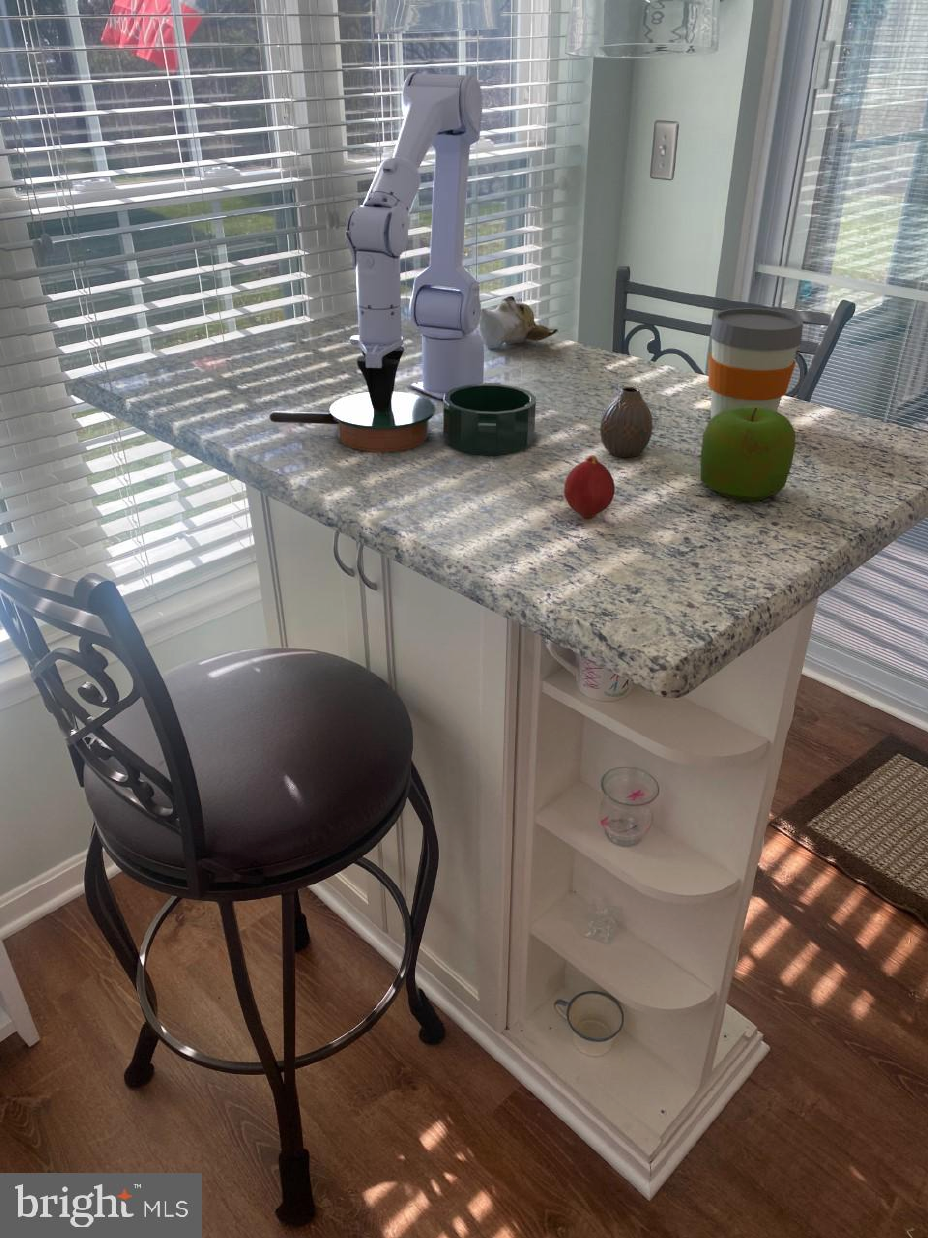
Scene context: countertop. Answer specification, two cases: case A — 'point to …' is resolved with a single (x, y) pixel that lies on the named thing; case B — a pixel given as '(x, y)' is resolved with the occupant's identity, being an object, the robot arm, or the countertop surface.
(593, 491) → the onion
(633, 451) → the vase
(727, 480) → the apple
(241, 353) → the countertop surface
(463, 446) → the pot
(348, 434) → the pan
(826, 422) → the countertop surface
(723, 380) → the reusable coffee cup
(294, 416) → the pan handle
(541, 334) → the ceramic sculpture
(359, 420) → the lid
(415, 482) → the countertop surface
